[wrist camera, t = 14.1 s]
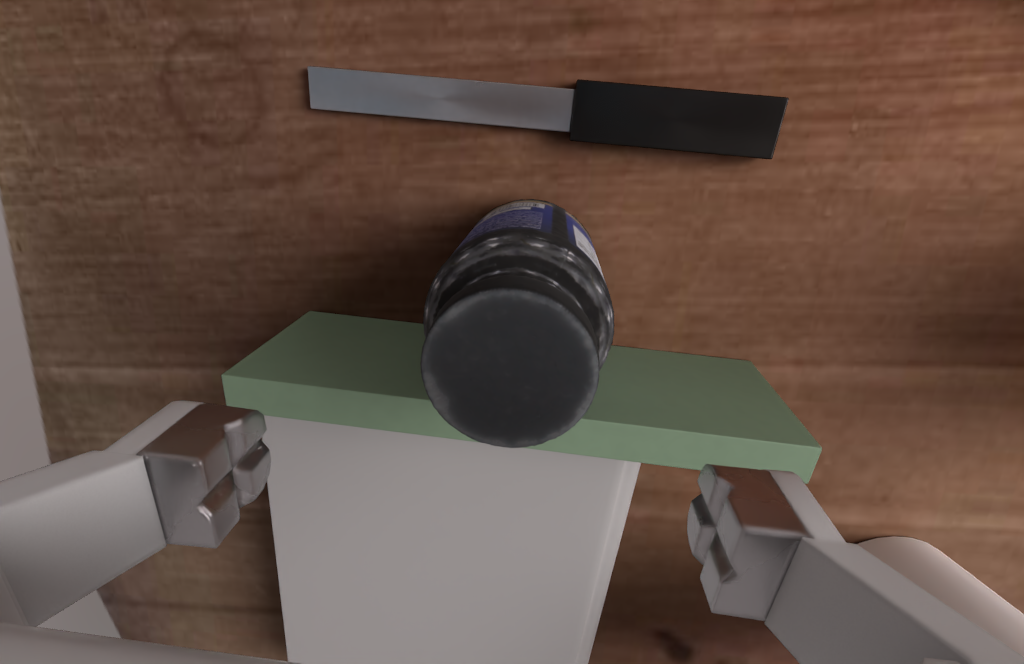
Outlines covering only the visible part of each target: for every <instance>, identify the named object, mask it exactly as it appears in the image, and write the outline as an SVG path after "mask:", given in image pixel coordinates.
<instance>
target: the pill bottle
mask: <svg viewBox="0 0 1024 664" xmlns="http://www.w3.org/2000/svg"><path fill="white" fill-rule="evenodd" d="M423 316H424V320H423V325H424V335H425V341H424V344H423V347H422V354H421V363H420V365H421V374H422V380H423V383H424V387H425V390H426V393H427V395H428V397H429V399H430V401H431V402H432V404H433V406H434V408H435V409H436V410H437V411H438V413H439V414H440V415H441V416H442V418H443V419H444V420H445V421H446V422H447V423H448V424H449V425H451V426H452V427H454V428H455V429H457V430H458V431H459V432H461V433H462V434H464V435H466V436H467V437H470V438H471V439H473V440H476V441H478V442H481V443H486V444H490V445H493V446H500V447H507V448H521V447H529V446H536V445H539V444H543V443H545V442H547V441H549V440H552V439H556V438H557V437H559V436H561V435H563V434H564V433H565V432H567V431H569V430H570V429H571V428H572V427H574V426H575V425H576V423H577V422H579V421H580V419H581V418H582V417H583V416H584V415H585V413H586V412H587V411H588V409H589V407H590V405H591V404H592V401H593V399H594V396H595V393H596V391H597V388H598V383H599V371H600V370H601V368H602V366H603V364H604V363H605V361H606V358H607V356H608V352H609V350H610V348H611V344H612V340H613V335H614V311H613V307H612V301H611V298H610V294H609V291H608V288H607V285H606V283H605V280H604V277H603V274H602V271H601V267H600V265H599V261H598V258H597V256H596V253H595V250H594V247H593V244H592V241H591V238H590V236H589V234H588V232H587V231H586V229H585V228H584V227H583V225H582V224H581V223H580V222H579V221H578V220H577V219H576V218H575V217H574V216H573V215H571V214H569V213H568V212H566V211H565V210H564V209H563V208H561V207H559V206H557V205H555V204H553V203H550V202H546V201H542V200H534V199H529V200H517V201H513V202H510V203H507V204H504V205H501V206H499V207H497V208H495V209H493V210H491V211H490V212H489V213H487V214H486V215H485V216H484V217H482V218H481V219H480V220H479V221H478V222H477V224H476V225H475V227H474V228H473V229H472V230H471V232H470V233H469V234H468V235H467V236H466V238H465V239H464V240H463V241H462V243H461V244H460V245H459V246H458V248H457V249H456V250H455V251H454V253H453V254H452V255H451V256H450V257H449V258H448V260H447V261H446V262H445V263H444V264H443V265H442V266H441V268H440V270H439V271H438V272H437V274H436V276H435V278H434V279H433V282H432V283H431V286H430V289H429V291H428V295H427V298H426V302H425V307H424V315H423Z"/></svg>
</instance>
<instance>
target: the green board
mask: <svg viewBox="0 0 1024 664" xmlns="http://www.w3.org/2000/svg"><path fill="white" fill-rule="evenodd" d="M424 341H425V335H424V325H423V324H420V323H411V322H402V321H394V320H385V319H376V318H367V317H359V316H350V315H341V314H332V313H323V312H315V311H309V312H307V313H306V314H305V315H303V316H302V317H301V318H299V319H298V320H296V321H295V322H294V323H292V324H291V325H290V326H288V327H287V328H285V329H284V330H283V331H281V332H280V333H279V334H277V335H276V336H274V337H273V338H272V339H270V340H269V341H267V342H266V343H265V344H263V345H262V346H261V347H259V348H258V349H256V350H255V351H254V352H252V353H251V354H250V355H248V356H247V357H245V358H244V359H243V360H241V361H240V362H238V363H237V364H236V365H234V366H233V367H232V368H230V369H229V370H227V371H226V372H225V373H223V374H222V375H221V377H222V383H223V389H224V394H225V400H226V406H231V407H239V408H246V409H253V410H258V411H259V412H261V413H262V414H263V415H265V416H273V417H281V418H289V419H297V420H305V421H313V422H321V423H329V424H337V425H345V426H352V427H360V428H368V429H376V430H384V431H392V432H400V433H408V434H416V435H424V436H432V437H440V438H448V439H456V440H464V441H472V442H478V441H476V440H473V439H471V438H470V437H467V436H466V435H464V434H462V433H461V432H459V431H458V430H457V429H455V428H454V427H452V426H451V425H449V424H448V423H447V422H446V421H445V420H444V419H443V418H442V416H441V415H440V414H439V413H438V411H437V410H436V409H435V408H434V406H433V404H432V402H431V401H430V399H429V397H428V395H427V393H426V390H425V387H424V383H423V380H422V374H421V365H420V363H421V354H422V347H423V344H424ZM480 443H481V442H480ZM521 448H528V449H535V450H543V451H551V452H559V453H567V454H575V455H583V456H591V457H599V458H607V459H615V460H623V461H631V462H639V463H647V464H655V465H663V466H671V467H679V468H687V469H695V470H702V468H703V467H704V465H705V464H714V465H723V466H732V467H741V468H750V469H759V470H763V469H768V470H779V471H791V472H794V473H795V474H797V475H798V476H799V477H800V478H801V479H802V481H803V482H804V483H806V484H807V483H808V482H809V480H810V477H811V475H812V472H813V470H814V468H815V465H816V463H817V460H818V458H819V455H820V453H821V450H822V447H821V446H820V445H819V444H818V442H817V441H816V440H815V439H814V438H813V436H812V435H811V434H810V433H809V432H808V430H807V429H806V428H805V427H804V425H803V424H802V423H801V422H800V421H799V419H798V418H797V417H796V416H795V415H794V413H793V412H792V411H791V410H790V408H789V407H788V406H787V405H786V404H785V402H784V401H783V400H782V399H781V398H780V396H779V395H778V394H777V393H776V392H775V390H774V389H773V388H772V387H771V385H770V384H769V383H768V382H767V381H766V379H765V378H764V377H763V376H762V375H761V373H760V372H759V371H758V370H757V369H756V367H755V366H754V365H753V364H752V362H751V361H745V360H736V359H728V358H719V357H710V356H701V355H692V354H684V353H675V352H666V351H657V350H648V349H640V348H631V347H622V346H613V345H611V348H610V350H609V352H608V356H607V358H606V361H605V363H604V364H603V366H602V368H601V370H600V371H599V383H598V388H597V391H596V393H595V396H594V399H593V401H592V404H591V405H590V407H589V409H588V411H587V412H586V413H585V415H584V416H583V417H582V418H581V419H580V421H579V422H577V423H576V425H575V426H574V427H572V428H571V429H570V430H569V431H567V432H565V433H564V434H563V435H561V436H559V437H557V438H556V439H552V440H549V441H547V442H545V443H543V444H539V445H536V446H529V447H521Z"/></svg>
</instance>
